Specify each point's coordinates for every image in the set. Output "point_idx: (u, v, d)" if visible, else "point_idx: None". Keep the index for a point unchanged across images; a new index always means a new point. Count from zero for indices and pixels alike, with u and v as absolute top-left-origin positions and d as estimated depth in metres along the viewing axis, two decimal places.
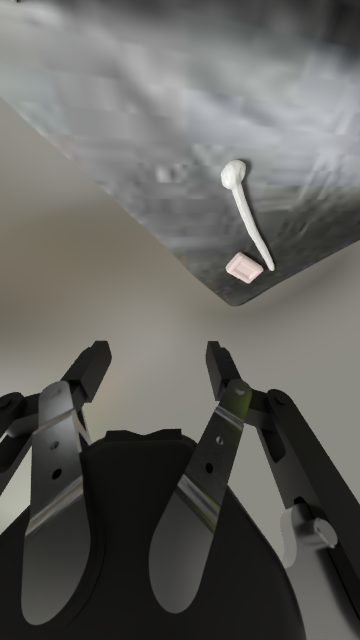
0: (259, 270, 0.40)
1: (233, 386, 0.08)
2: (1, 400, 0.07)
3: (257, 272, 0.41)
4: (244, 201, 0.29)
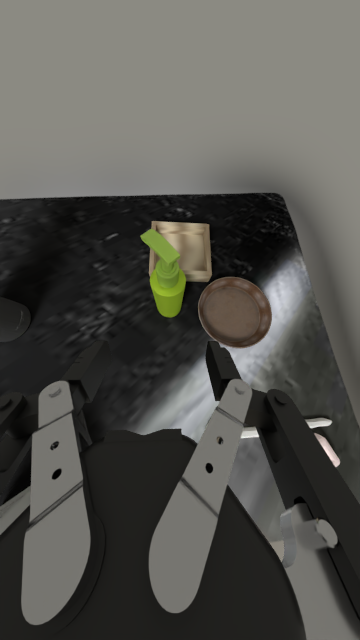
0: (322, 443, 0.30)
1: (233, 386, 0.08)
2: (1, 400, 0.07)
3: (325, 447, 0.30)
4: None
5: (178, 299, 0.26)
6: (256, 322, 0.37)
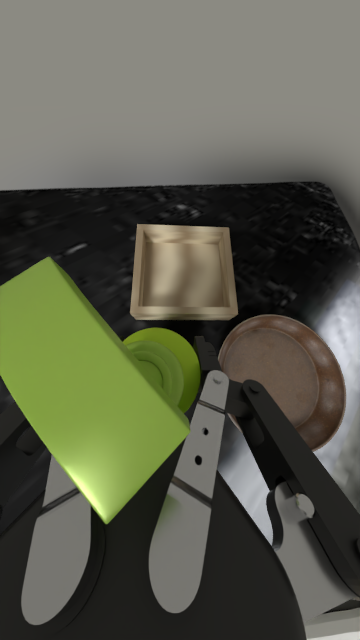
0: None
1: (211, 376, 0.08)
2: None
3: None
4: None
5: None
6: (313, 391, 0.22)
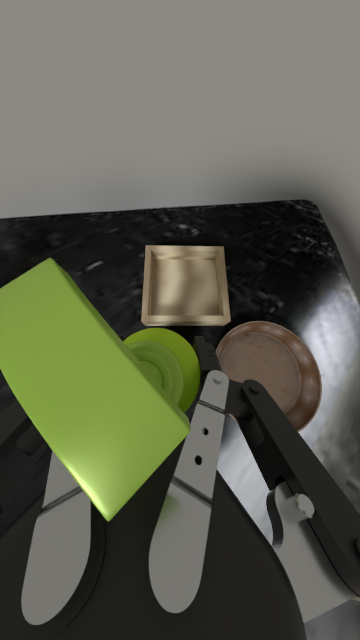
0: None
1: (211, 376, 0.08)
2: None
3: None
4: None
5: None
6: (296, 386, 0.25)
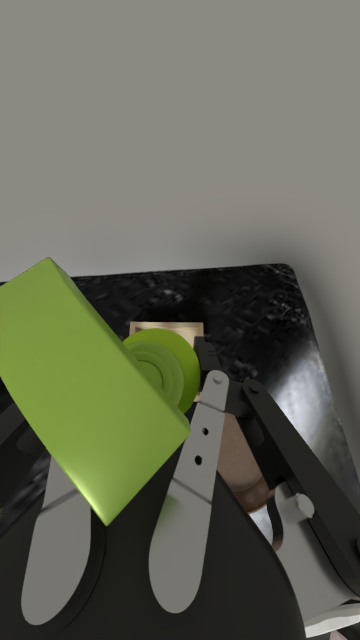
0: None
1: (211, 376, 0.08)
2: None
3: None
4: None
5: None
6: None
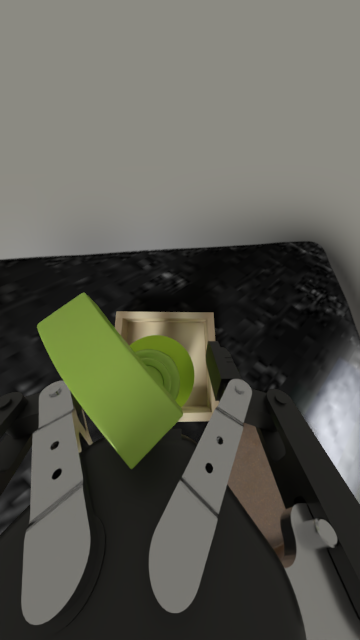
0: None
1: (233, 386, 0.08)
2: (1, 400, 0.07)
3: None
4: None
5: None
6: None
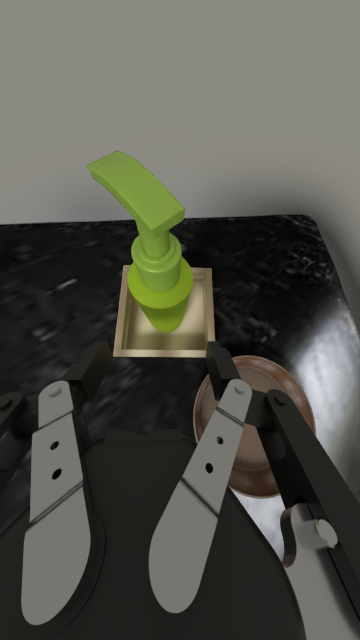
0: None
1: (233, 386, 0.08)
2: (0, 400, 0.07)
3: None
4: None
5: (179, 311, 0.15)
6: None
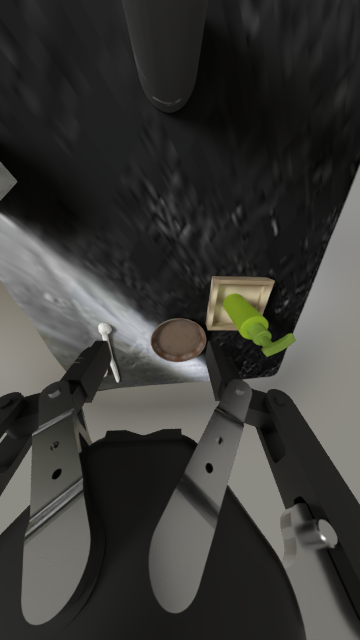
0: None
1: (233, 386, 0.08)
2: (0, 400, 0.07)
3: None
4: None
5: (236, 327, 0.34)
6: (171, 351, 0.52)
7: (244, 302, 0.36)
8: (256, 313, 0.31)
